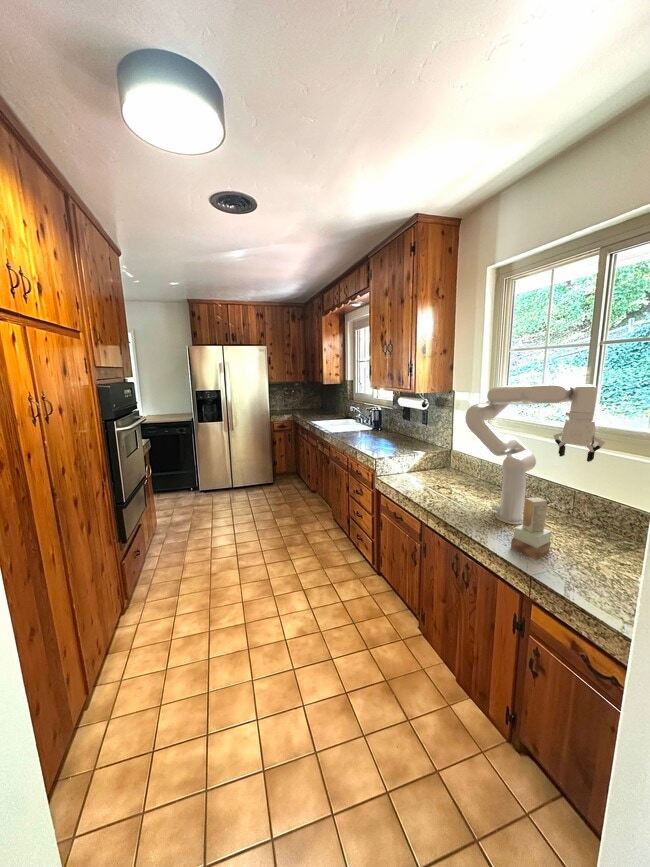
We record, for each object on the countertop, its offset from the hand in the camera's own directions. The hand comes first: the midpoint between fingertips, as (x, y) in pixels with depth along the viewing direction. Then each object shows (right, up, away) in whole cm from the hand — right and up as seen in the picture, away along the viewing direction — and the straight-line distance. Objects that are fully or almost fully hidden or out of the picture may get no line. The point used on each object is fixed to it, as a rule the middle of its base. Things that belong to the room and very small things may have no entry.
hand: (575, 458), depth 139 cm
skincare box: (-21, -27, -6) cm, 35 cm away
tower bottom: (-21, -36, -4) cm, 42 cm away
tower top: (-20, -32, -5) cm, 38 cm away
